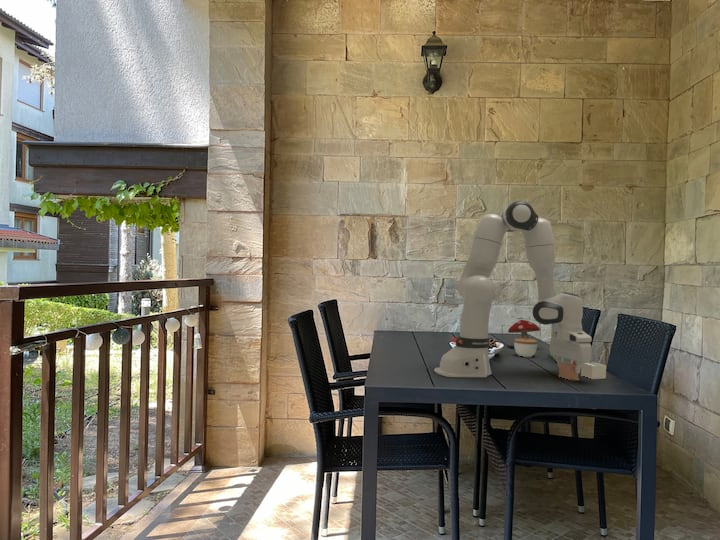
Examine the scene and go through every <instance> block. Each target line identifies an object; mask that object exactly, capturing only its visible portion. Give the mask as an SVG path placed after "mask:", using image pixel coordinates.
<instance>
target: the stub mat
mask: <svg viewBox="0 0 720 540" xmlns="http://www.w3.org/2000/svg"><path fill="white" fill-rule="evenodd" d="M558 376H559V375H558ZM560 377H561V376H559V377H558V378H560ZM563 378H564V377H562V378H561V379H563ZM566 379H567V378H565V379H564V380H566ZM579 379H580V378H578V379H568V380H567V381H569V380H571V381H580V380H579Z"/></svg>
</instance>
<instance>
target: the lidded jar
mask: <svg viewBox="0 0 720 540" xmlns="http://www.w3.org/2000/svg"><path fill="white" fill-rule="evenodd" d="M513 342H514V343H513V346H514V351H515V353H516V354H517V355H518V357H520V356H523V357H522V358H532V357H533V356H534V355H535V354H536V353H537V349H538V340H537V339H532V338H529V339H527V337H525V339H522V338H514V339H513Z"/></svg>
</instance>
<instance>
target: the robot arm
mask: <svg viewBox="0 0 720 540" xmlns="http://www.w3.org/2000/svg"><path fill="white" fill-rule="evenodd" d="M517 231H518V232H521V234H522V235H523V238H524V244H525V245H524V246H525V247H524V248H525V254H526V258H527V262H528V265H529V267H530V268H531V270H532V271H533V273H534V274H535V278H536V285H537V296H538V300H537V303H536V304H535V305H534V306H533V308H532V316H533V318H534V320H535V321H536V322H537V323H538V324H541V325H544V326H546V325H547V326H549V325H552V324H554V323H557V324H558V332H554V333H553V334H552V337H551V336H550V341H549V349H548V351H549V353H550V354H552V355H555V356H556V360H557V362H556V363H557V368H559V363H562V357H563V358H566V359H570V360H573V361H576V364H575V365H576V367H575V368H574V373H578V374H581V367H582V365H583V363H591V360H592V345H591V342H592V340H593V338H592V336H591V335H589V334H588V333H586V332H585V331H584V330H583V325H582V324H583V323H582V319H583V316H584V314H583V313H584V308H583V307H584V305H583V299H582V297H580V295H578V294H575V293H574V292H567V291H563V292H560V293H558V294H555V285H554V277H553V276H554V268H555V262H556V243H555V236H554V231H553V227H552V224H551V223H550V221H549V220H548V219H546V218H543V217H539V215H538V213H536V211H535V210H534V208H533V207H532V205H531V204H529V203H528V202H527V201H524V200H516V201H514V202H512V203H509V204H508V205H506V206H505V207H504V208H503V209H502V210H501V211H500V212H499V213H498V214H496V213H495V214H494V213H489V214H488V213H487V214H484V215H483V216H482V217H481V219H480V221H479V223H478V226H477V227H476V231H475V233H474V236H473V240H472V244H471V248H470V251H469V255H468V259H467V261H466V263H465V266H464V268H463V270H462V273H461V276H460V278H459V280H458V282H457V284H456V290H457V292H458V294H459V296H460V298H462V299H463V301H464V302H463V306H462V312H461V314H460V320H459V321H460V325H459V336H458V337H454V336H451V338H450V341H451V342H452V343H455V346H453V347H452V348H451V349H450V350H448V351H447V352H446V353H444V354H443V355H442V357H441V359H440V362H439V367H435V368H434V369H433V371H434V372H435V374H437V375H439V376H443V377H446V378H487V377H488V376H490V375H492V374H493V373H492V370H491V366H490V357H489V356H490V355H489V350H490V337H489V327H490V326H489V323H490V315H491V309H492V303H493V299H494V296H495V294H496V285H495V283H494V282H493V281H492V279H490V276H491V275H492V272H493V270H494V269H495V267H496V265H497V263H498V261H499V256H500V252H501V248H502V244H503V240H504V236H505V234H506V233H509V232H510V233H511V232H513V233H514V232H517Z"/></svg>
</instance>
